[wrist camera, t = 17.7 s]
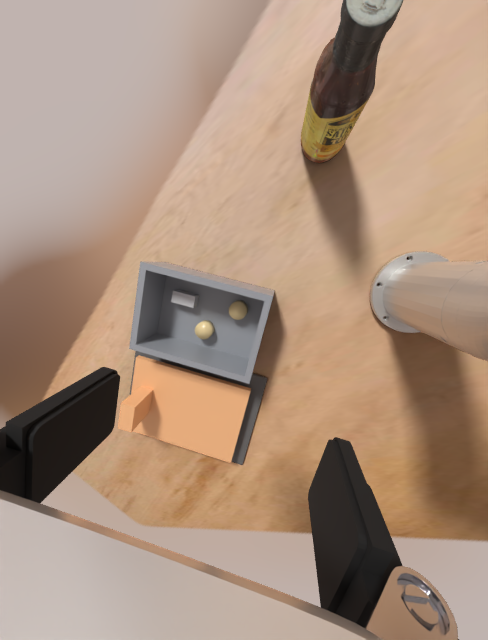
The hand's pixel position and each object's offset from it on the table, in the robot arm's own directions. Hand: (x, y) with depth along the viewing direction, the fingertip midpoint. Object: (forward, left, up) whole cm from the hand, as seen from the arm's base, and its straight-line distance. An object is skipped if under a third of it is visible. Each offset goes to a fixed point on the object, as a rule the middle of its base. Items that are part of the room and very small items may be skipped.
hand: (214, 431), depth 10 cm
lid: (+9, +23, -33) cm, 41 cm away
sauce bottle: (-2, -26, -34) cm, 42 cm away
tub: (+9, +4, -33) cm, 35 cm away
